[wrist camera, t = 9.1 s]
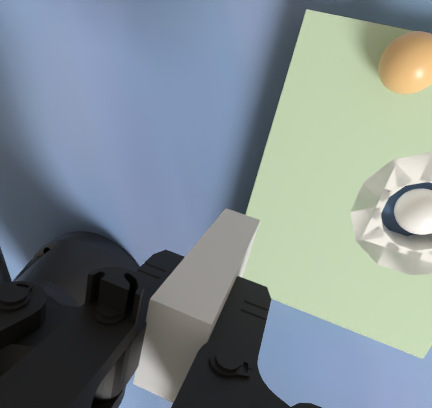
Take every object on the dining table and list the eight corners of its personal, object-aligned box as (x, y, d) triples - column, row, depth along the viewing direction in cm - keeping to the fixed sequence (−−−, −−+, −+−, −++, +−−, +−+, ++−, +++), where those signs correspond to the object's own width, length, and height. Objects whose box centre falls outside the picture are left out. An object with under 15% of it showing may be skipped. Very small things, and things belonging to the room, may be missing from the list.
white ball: (408, 222, 27) (376, 218, 25) (428, 183, 25) (396, 178, 24) (444, 244, 24) (410, 242, 22) (469, 203, 22) (434, 198, 21)
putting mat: (233, 266, 32) (225, 280, 30) (308, 18, 24) (306, 9, 21) (414, 335, 29) (423, 359, 26) (575, 73, 20) (610, 70, 18)
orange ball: (366, 87, 22) (372, 85, 18) (387, 31, 20) (399, 19, 17) (419, 100, 21) (436, 101, 18) (446, 43, 20) (468, 33, 16)
